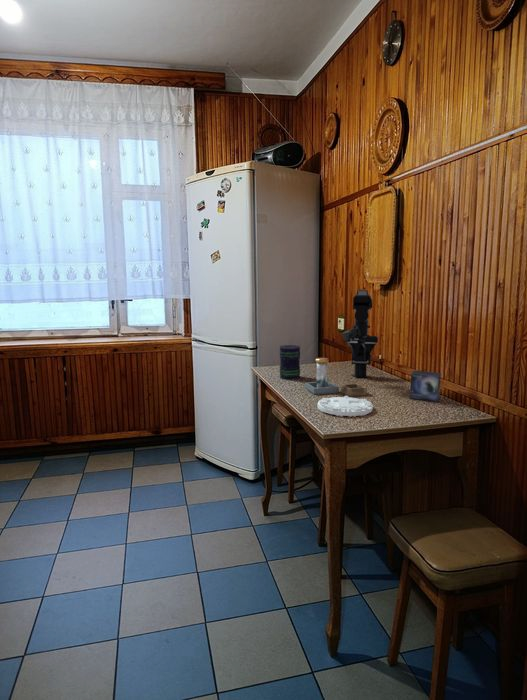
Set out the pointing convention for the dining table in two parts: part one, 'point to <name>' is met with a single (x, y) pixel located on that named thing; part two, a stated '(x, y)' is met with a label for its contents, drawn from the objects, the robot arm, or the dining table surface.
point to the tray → (324, 390)
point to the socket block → (353, 389)
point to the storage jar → (289, 362)
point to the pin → (321, 372)
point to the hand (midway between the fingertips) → (360, 358)
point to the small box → (425, 386)
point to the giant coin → (345, 406)
